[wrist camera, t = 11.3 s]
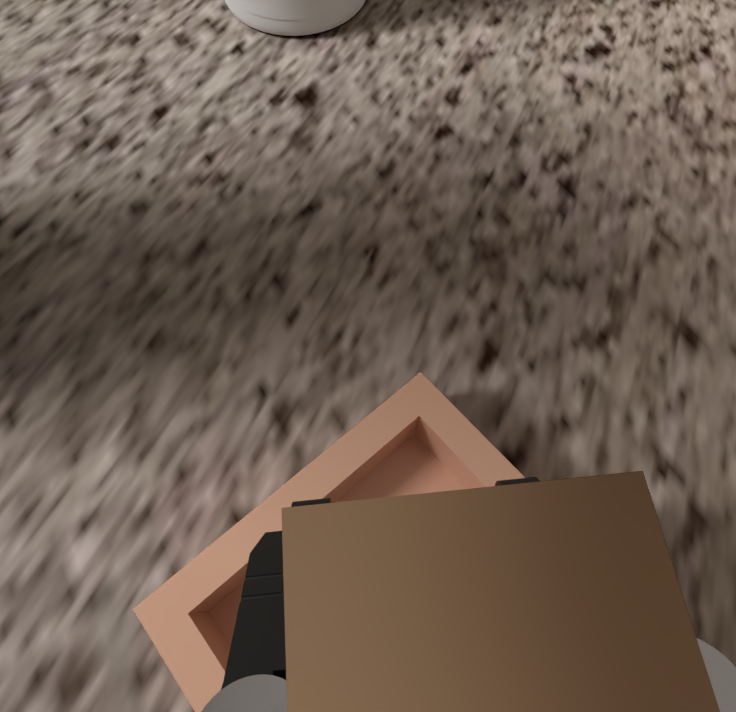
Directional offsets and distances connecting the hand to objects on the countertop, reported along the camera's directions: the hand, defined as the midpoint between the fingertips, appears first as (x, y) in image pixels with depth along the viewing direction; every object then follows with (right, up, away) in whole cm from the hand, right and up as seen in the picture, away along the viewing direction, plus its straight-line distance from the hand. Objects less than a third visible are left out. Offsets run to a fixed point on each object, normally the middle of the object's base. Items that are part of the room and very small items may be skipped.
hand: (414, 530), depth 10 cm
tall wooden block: (0, -4, +3) cm, 5 cm away
